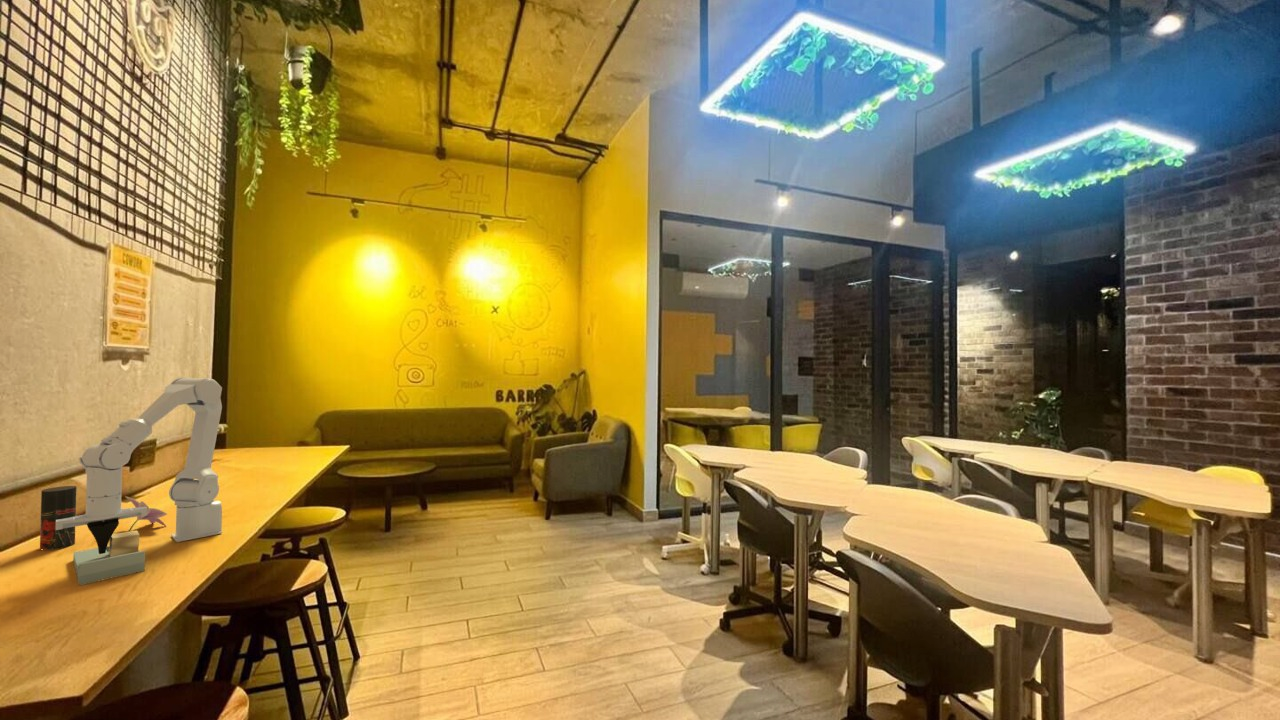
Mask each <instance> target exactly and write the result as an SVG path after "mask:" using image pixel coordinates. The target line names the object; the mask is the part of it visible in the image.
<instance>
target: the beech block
mask: <svg viewBox="0 0 1280 720" xmlns="http://www.w3.org/2000/svg"><path fill="white" fill-rule="evenodd" d="M108 546H109V555H110V557H115V556H120V555H125V554H129V553H134V552H138V551H139V546H140V533H139V531H138V530H130V532H128V531H124V532H118V533H113V534H112V536H111V538H110V540H109V544H108Z"/></svg>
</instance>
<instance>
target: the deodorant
mask: <svg viewBox="0 0 1280 720" xmlns="http://www.w3.org/2000/svg"><path fill="white" fill-rule="evenodd" d="M40 493H41V496H40V497H41V498H40V500H41V501H40V527H39V529H40V530H39V533H40V534H39V536H40V539H39V550H40V549H43V550H45V551H55V550H60V549H65V548H69V547H71V546H73V545H75V544H76V526H74V527H68V528H63V529H60V530H56V520H59V519H65V518H70V517H75V516H77V485H76V486H75V485H63V486H56V487H50V488H45V489H42V490H41V492H40ZM43 550H42V551H43Z"/></svg>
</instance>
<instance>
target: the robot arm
mask: <svg viewBox="0 0 1280 720" xmlns="http://www.w3.org/2000/svg"><path fill="white" fill-rule="evenodd" d="M163 391H164V392H163V393H162V394H161V395H160V396H159V397H158V398H157V399H155V401H154V402H153V403H151V405H150V406H148V408H146V409H145V411H144V412H142V413H141V414H140V415H139V416H138V417H137V418H131V419H127V420H126V421H125V420H124V421H121V422H120V423H118V426H119V427H118V428H116V429H115V430H114V431H112V433H110V434H109V435H108V436H107V437H103V438H102V439H101V440H100V443H97V444H95V445H92V446H89V447H88V448H87V449H85V451H84V452H83V454H82V457H79V458H78V460H79V463H80V465H81V466H82V467H83V468H84V469H85V475H86V485H85V486H86V488H85V490H86V491H85V513H84V514H81V515H76V516H75V517H70V518H65V519H59V520H56V530H60V529H63V528H68V527H74V526H75V527H79V526H85V525H86V527H87V528H88V530H89V531H90V533H91V535H92V536H93V538H94V540H95V542H96V545H97V548H98V552H99V554H103V553H106V548H107V546H109V543H110V538H111V536H112V534H114V532H115V531H116V529H117V528H118V527H119V524H120V521H119V520H124V519H130V518H135V517H136V518H137V516H147V507H138V508H136V507H131V508H122V490H123V489H122V487H123V467H124V466H125V465H126V464H129V461H130V459H131V455H132V453H133V452H134V450H135V449H136V448H137V447H138V446H139V445H141V443H143V442H144V441H145V440H146V439H147V438H148V437H149V436H150V435H151V434H152V433H153V426H154V425H156V423H158V422H159V421H160V420H162V419H163V418H165V417H166V416H167V415H168V414H169V413H171V412H172V411H173V410H174V409H176V408H177V407H178V406H181V405H186V406H188V407H189V408H191V409H192V411H194V412H195V414H194V420H193V423H192V424H193V425H192V429H191V436H190V439H189V440H190V441H189V445H188V450H187V456H186V460H185V464H184V465H185V466H184V468H183V469H182V470H181V471H179V472H178V473H177V474H176V475H175V480H174V481H173V483H172V485H171V486H170V488H169V491H168V494H169V495H168V496H169V498H170V500H171V501H173V502H174V505H175V506H176V507H175V509H176V513H175V514H176V515H175V523H176V524H175V533H171V537H172V539H174V541H175V542H176V543H181V542H185V541H189V540H190V541H191V540H196V539H200V538H201V539H202V538H205V537H211V536H215V535H221V534H222V533H223V531H222V523H223V521H222V520H223V519H222V518H223V510H222V509H223V507H222V502H221V501H220V500H215V499H216V498H217V496H218V494H219V492H220V486H219V482H218V479H219V476H218V474H217V473H216V472H215V471H214V470H213V469H212V465H213V457H214V455H215V454H214V452H215V447H216V442H217V437H218V436H217V435H218V432H219V426H220V422H221V421H220V420H221V415H222V409H223V405H222V404H223V403H222V399H221V396H222V391H223V387H222V386H221V385H220V384H219V383H218V381H216V379H213V378H210V377H207V378H206V377H205V378H194V377H193V378H192V377H188V378H187V377H177V378H175V379H174V380H172V381H171V383H170V384H167V386H165V387H164V390H163Z"/></svg>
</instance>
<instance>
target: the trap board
mask: <svg viewBox="0 0 1280 720" xmlns="http://www.w3.org/2000/svg"><path fill="white" fill-rule="evenodd" d="M73 563H74V570H75V573H76V576H77V577H76V578H77V582H78V585H79V586H83V585H88V584H92V583H95V582H94V581H97V582H99V581H98V580H101V581H103V580H102V579H106V580H108V579H107V578H110V579H112V578H111V577H115V578H117V577H116V576H119V577H123V576H122V575H124V576H127V574H128V575H132V574H136V572H137V573H140V571H141V572H144V571H145V567H146V550H140V551H139V550H138V552H134V553H129V554H125V555H120V556H115V557H110V555H109V545H107V548H106V553H103V554H99V552H98V547H94V548H89V549H85V550H79V551H74V552H73ZM91 582H92V583H91ZM87 583H88V584H87Z"/></svg>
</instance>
